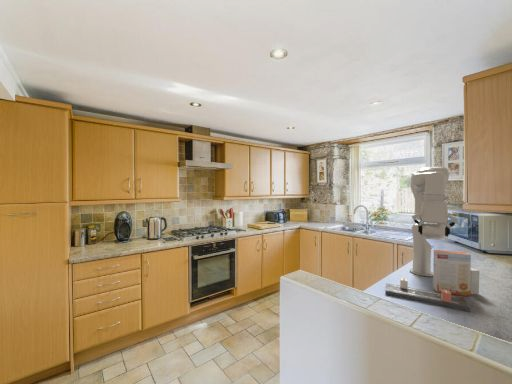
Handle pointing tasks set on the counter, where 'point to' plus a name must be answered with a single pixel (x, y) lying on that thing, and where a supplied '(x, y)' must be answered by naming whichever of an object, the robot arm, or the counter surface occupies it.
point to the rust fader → (446, 295)
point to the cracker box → (452, 272)
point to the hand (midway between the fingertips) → (433, 235)
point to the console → (427, 297)
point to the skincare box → (474, 281)
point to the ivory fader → (404, 283)
